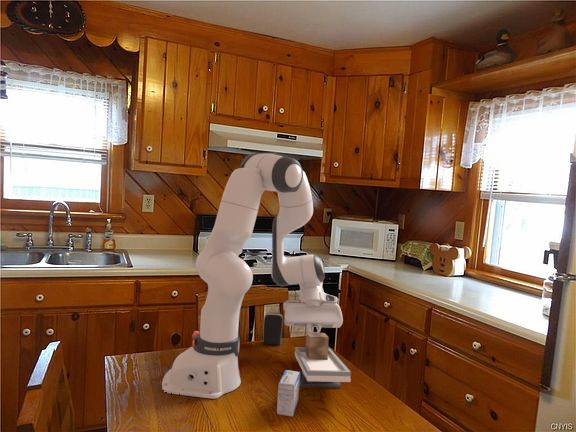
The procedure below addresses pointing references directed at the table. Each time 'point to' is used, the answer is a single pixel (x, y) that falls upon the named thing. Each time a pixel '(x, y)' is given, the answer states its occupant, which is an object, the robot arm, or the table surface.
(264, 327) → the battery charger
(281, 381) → the medicine box
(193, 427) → the table surface
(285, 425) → the table surface
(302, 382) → the pivot stand
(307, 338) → the walnut block
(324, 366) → the white flat rectangular tray
